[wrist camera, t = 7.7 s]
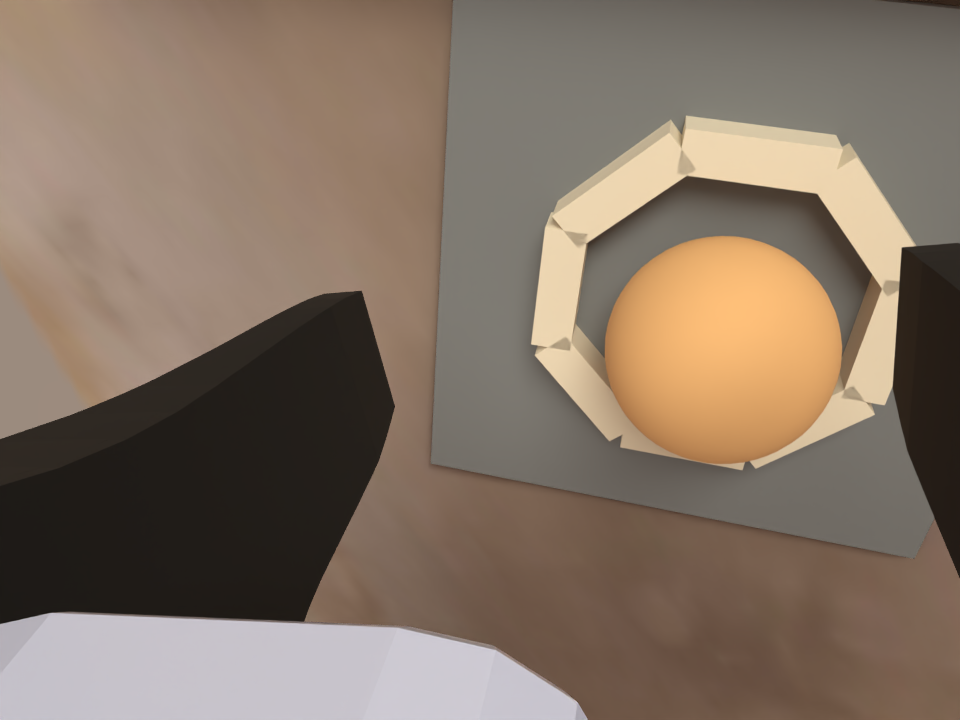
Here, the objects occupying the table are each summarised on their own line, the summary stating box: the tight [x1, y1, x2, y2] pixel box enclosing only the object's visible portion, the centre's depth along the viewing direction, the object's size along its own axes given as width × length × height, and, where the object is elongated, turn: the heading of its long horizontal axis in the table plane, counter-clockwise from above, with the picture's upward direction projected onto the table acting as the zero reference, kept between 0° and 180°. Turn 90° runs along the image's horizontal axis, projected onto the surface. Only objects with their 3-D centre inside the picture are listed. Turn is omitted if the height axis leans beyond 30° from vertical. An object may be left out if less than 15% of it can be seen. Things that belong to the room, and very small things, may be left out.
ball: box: [605, 236, 842, 464], centre depth 18 cm, size 5×5×5 cm
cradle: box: [431, 0, 960, 559], centre depth 20 cm, size 14×14×1 cm
